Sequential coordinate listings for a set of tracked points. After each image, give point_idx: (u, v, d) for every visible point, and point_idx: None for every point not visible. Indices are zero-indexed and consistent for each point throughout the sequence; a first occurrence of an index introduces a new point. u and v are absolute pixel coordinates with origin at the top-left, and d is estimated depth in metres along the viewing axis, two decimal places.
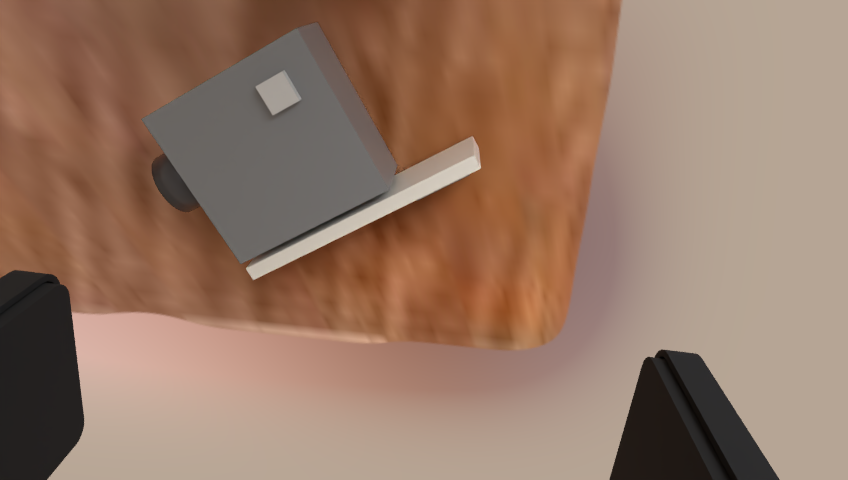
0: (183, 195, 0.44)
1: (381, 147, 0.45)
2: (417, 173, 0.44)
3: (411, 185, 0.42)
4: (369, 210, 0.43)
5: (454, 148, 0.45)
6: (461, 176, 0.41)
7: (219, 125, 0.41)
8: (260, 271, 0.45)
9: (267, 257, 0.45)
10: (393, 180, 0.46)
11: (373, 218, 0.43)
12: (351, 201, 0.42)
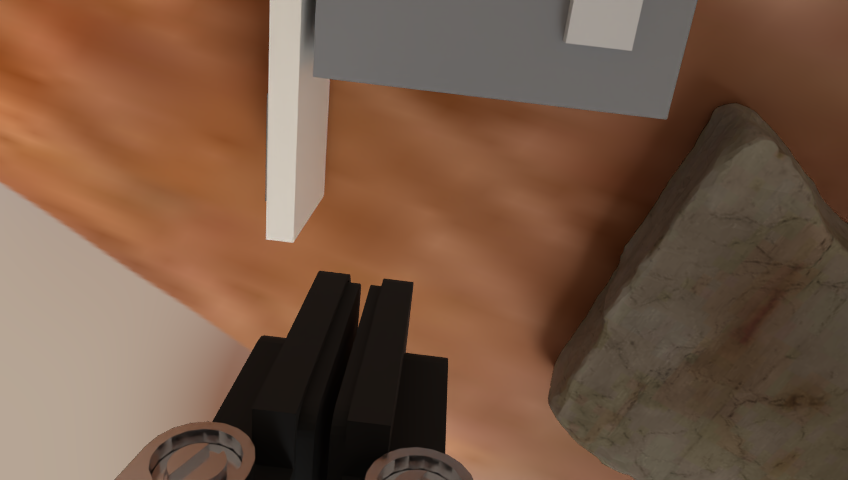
0: None
1: None
2: (313, 110, 0.24)
3: (298, 114, 0.21)
4: (294, 10, 0.20)
5: (320, 170, 0.27)
6: (269, 204, 0.22)
7: None
8: None
9: None
10: None
11: (275, 7, 0.20)
12: None
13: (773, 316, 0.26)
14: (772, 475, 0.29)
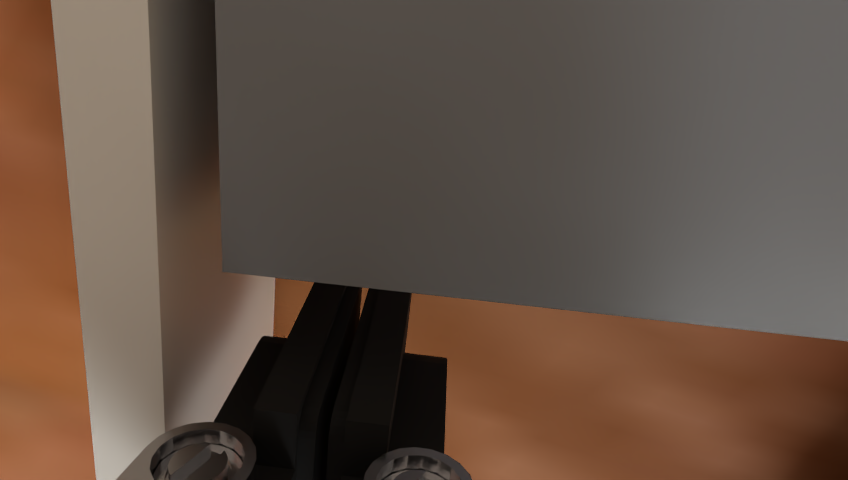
0: None
1: None
2: (230, 284, 0.10)
3: (168, 345, 0.08)
4: (131, 87, 0.07)
5: None
6: None
7: None
8: None
9: None
10: None
11: (74, 77, 0.07)
12: (260, 34, 0.06)
13: None
14: None
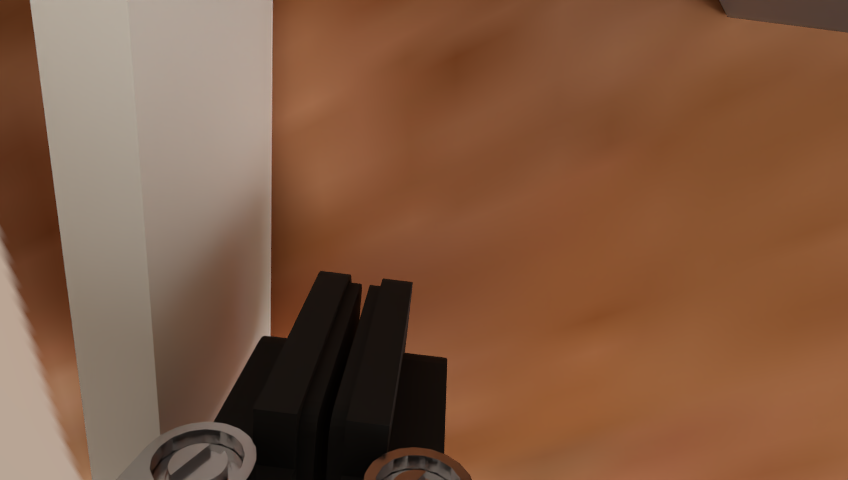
0: None
1: None
2: (224, 288, 0.10)
3: (161, 351, 0.08)
4: (114, 92, 0.07)
5: None
6: None
7: None
8: None
9: None
10: (249, 144, 0.11)
11: (56, 85, 0.07)
12: None
13: None
14: None
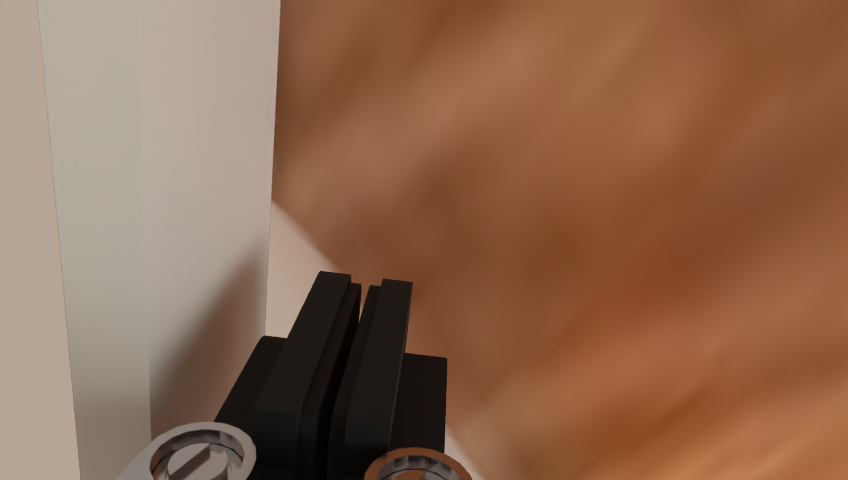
0: None
1: None
2: (220, 285, 0.10)
3: (155, 348, 0.08)
4: (118, 86, 0.07)
5: None
6: None
7: None
8: None
9: None
10: (252, 141, 0.11)
11: (59, 76, 0.07)
12: None
13: None
14: None
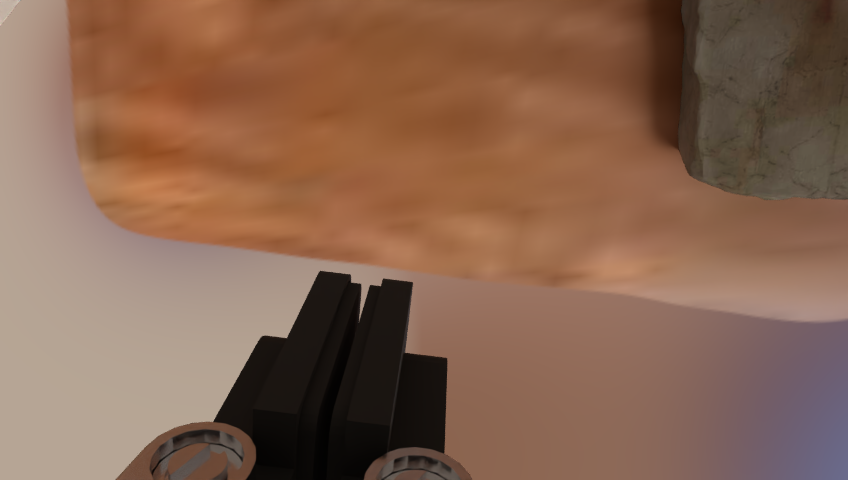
0: None
1: None
2: None
3: None
4: None
5: (3, 5, 0.30)
6: None
7: None
8: None
9: None
10: None
11: None
12: None
13: None
14: None
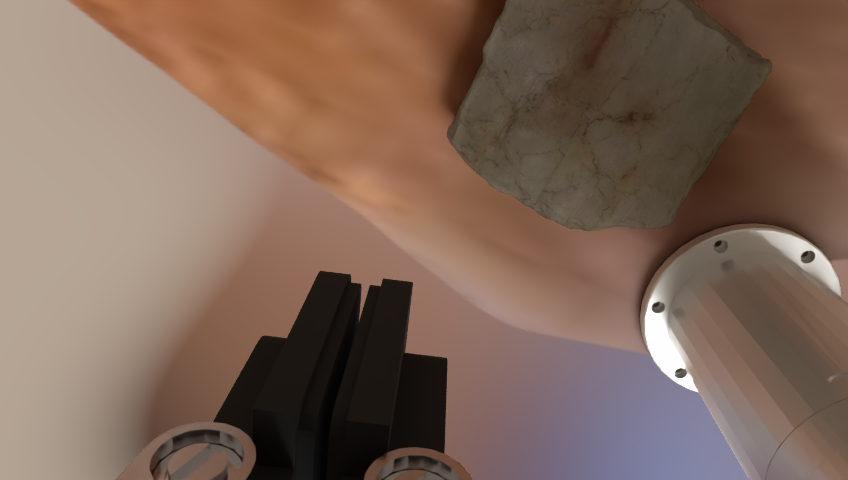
0: None
1: None
2: None
3: None
4: None
5: None
6: None
7: None
8: None
9: None
10: None
11: None
12: None
13: (610, 42, 0.34)
14: (620, 187, 0.36)
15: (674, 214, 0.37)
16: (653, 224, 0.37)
